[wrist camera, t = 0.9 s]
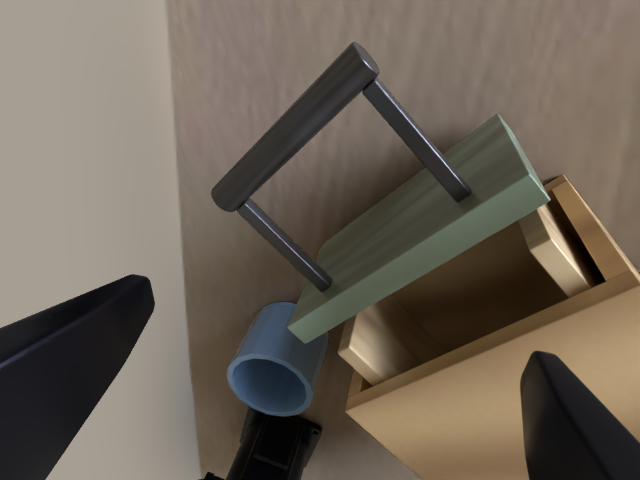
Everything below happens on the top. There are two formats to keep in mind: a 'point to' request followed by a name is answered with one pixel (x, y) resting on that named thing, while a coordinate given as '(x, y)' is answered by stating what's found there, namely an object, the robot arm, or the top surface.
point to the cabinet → (513, 370)
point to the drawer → (416, 236)
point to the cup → (276, 364)
